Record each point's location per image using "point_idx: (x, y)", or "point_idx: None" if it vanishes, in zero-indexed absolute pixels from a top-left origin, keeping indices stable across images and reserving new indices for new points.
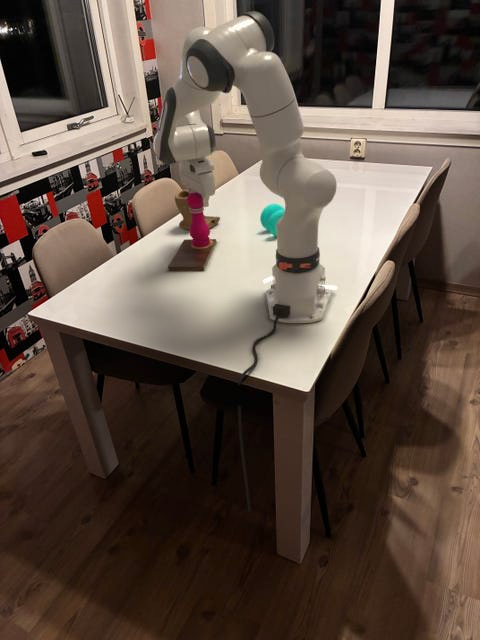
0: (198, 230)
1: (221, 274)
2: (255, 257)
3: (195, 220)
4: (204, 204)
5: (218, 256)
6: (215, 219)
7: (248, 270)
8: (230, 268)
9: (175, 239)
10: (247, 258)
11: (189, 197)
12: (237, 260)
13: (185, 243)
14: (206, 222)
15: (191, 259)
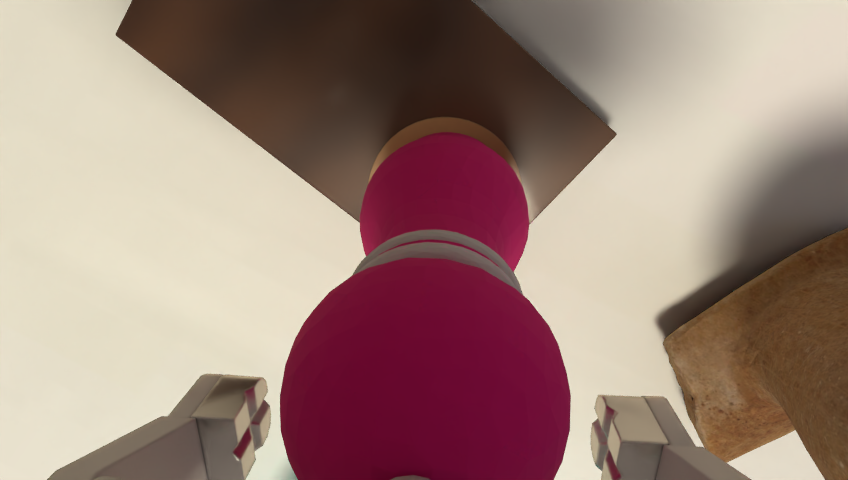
0: (370, 195)
1: (45, 102)
2: (160, 337)
3: (397, 224)
4: (186, 401)
5: (276, 204)
6: (696, 429)
7: (35, 239)
8: (96, 180)
9: (727, 105)
10: (169, 305)
11: (378, 348)
12: (172, 256)
13: (542, 109)
14: (702, 369)
15: (262, 19)
